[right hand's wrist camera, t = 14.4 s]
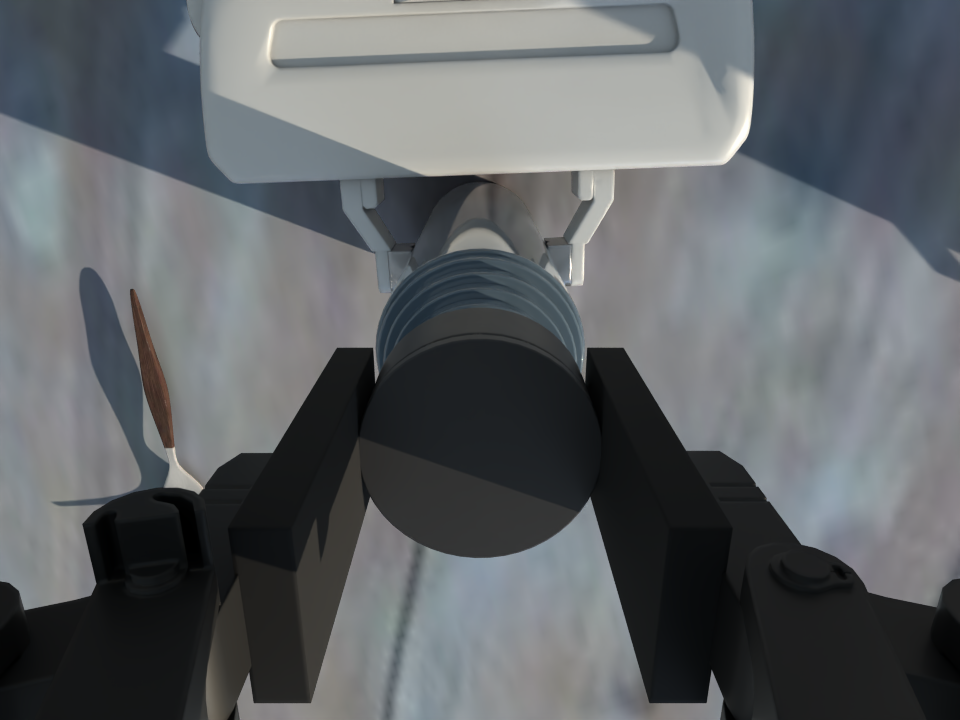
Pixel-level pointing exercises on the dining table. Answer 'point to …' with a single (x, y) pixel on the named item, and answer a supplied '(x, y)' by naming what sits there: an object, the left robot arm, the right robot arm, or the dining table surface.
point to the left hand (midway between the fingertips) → (482, 286)
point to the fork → (159, 400)
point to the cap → (480, 435)
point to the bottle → (480, 269)
